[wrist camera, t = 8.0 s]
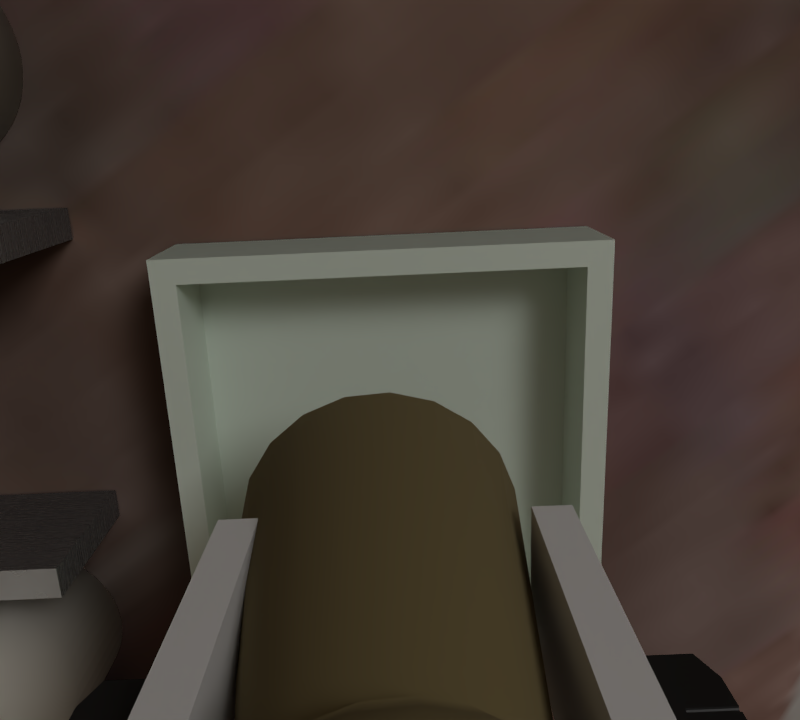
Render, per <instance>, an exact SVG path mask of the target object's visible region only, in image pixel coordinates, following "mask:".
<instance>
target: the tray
mask: <svg viewBox="0 0 800 720" xmlns="http://www.w3.org/2000/svg"><path fill="white" fill-rule="evenodd" d="M614 251H615V239H613V238H610V237H608V236H606V235H604V234H602V233H600V232H598V231H596V230H594V229H592V228H590V227H588V226H582V227H559V228H537V229H514V230H491V231H468V232H446V233H423V234H400V235H377V236H355V237H332V238H309V239H286V240H264V241H241V242H218V243H195V244H176V245H174V246H172V247H170V248H168V249H166V250H165V251H163V252H161V253H159V254H157V255H155V256H153V257H151V258H150V259H148V260H146V262H147V269H148V276H149V283H150V290H151V297H152V304H153V311H154V318H155V325H156V332H157V339H158V346H159V354H160V361H161V368H162V375H163V382H164V389H165V396H166V403H167V410H168V417H169V424H170V431H171V438H172V445H173V452H174V459H175V466H176V473H177V480H178V487H179V494H180V501H181V508H182V515H183V522H184V529H185V536H186V543H187V550H188V557H189V564H190V571H191V578H192V576H193V574H194V572H195V570H196V567H197V565H198V563H199V561H200V559H201V556H202V554H203V552H204V550H205V548H206V545H207V543H208V541H209V539H210V537H211V534H212V532H213V530H214V528H215V525H216V523H217V521H218V520H226V519H242V514H243V508H244V503H245V498H246V492H247V487H248V482H249V478H250V476H251V475H252V473H253V471H254V470H255V468H256V466H257V465H258V463H259V461H260V459H261V458H262V456H263V454H264V453H265V451H266V449H267V448H268V446H269V444H270V443H271V442H272V441H273V440H274V439H275V438H277V437H278V436H279V435H280V434H281V433H282V432H284V431H285V430H286V429H287V428H288V427H289V426H291V425H292V424H293V423H294V422H295V421H296V420H297V419H299V418H300V417H301V416H302V415H303V414H306V413H308V412H311V411H313V410H315V409H318V408H320V407H322V406H325V405H327V404H329V403H332V402H334V401H336V400H339V399H341V398H343V397H350V396H359V395H369V394H379V393H388V392H391V393H396V394H401V395H406V396H411V397H416V398H421V399H426V400H431V401H435V402H436V403H438V404H440V405H442V406H444V407H445V408H447V409H449V410H451V411H453V412H454V413H456V414H458V415H460V416H462V417H464V418H465V419H467V420H469V421H471V422H472V423H473V424H474V425H475V426H476V427H477V428H478V429H479V431H480V432H481V433H482V434H483V435H484V436H485V437H486V438H487V439H488V440H489V442H490V443H491V444H492V445H493V446H494V447H495V448H496V449H497V450H498V451H499V452H500V455H501V457H502V460H503V462H504V464H505V467H506V469H507V471H508V474H509V476H510V479H511V481H512V483H513V486H514V488H515V493H516V499H517V505H518V511H519V517H520V523H521V529H522V535H523V542H524V548H525V554H526V560H527V566H528V572H529V578H530V584H531V507H532V506H556V505H573V507H574V509H575V511H576V514H577V516H578V518H579V520H580V522H581V524H582V526H583V528H584V530H585V532H586V534H587V536H588V538H589V540H590V542H591V544H592V546H593V548H594V551H595V553H596V555H597V557H598V559H599V561H600V563H601V553H602V530H603V507H604V483H605V460H606V437H607V414H608V390H609V367H610V344H611V321H612V297H613V274H614Z"/></svg>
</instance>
